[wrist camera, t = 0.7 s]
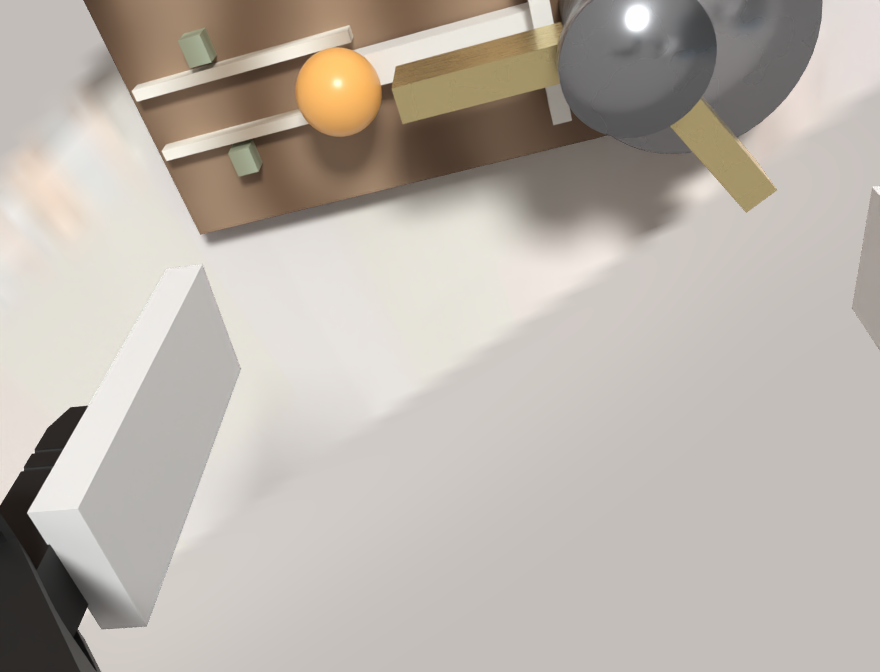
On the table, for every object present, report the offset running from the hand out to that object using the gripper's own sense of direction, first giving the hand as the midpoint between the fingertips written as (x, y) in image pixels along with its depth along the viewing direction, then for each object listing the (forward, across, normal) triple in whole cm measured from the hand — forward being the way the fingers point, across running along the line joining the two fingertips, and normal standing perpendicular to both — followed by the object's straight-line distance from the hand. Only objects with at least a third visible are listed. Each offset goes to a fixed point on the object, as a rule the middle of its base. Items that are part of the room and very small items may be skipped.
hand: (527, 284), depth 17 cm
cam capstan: (+22, +5, +1) cm, 23 cm away
